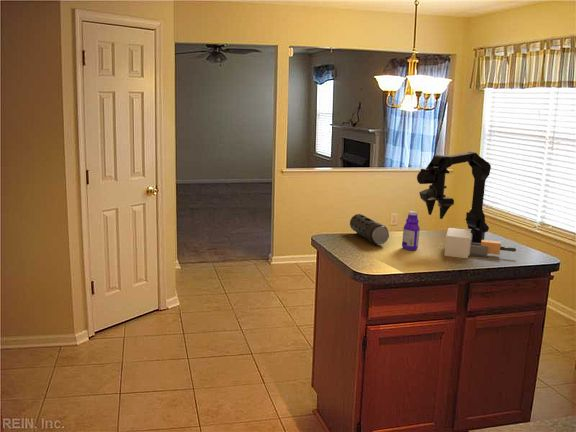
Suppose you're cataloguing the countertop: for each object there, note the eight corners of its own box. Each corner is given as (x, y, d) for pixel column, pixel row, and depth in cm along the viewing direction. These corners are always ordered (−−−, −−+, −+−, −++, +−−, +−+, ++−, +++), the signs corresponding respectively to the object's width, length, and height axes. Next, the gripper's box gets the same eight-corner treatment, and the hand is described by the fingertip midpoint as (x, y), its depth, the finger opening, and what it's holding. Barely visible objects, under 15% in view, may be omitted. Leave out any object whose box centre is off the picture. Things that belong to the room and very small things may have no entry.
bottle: (420, 249, 268) (423, 212, 265) (413, 251, 264) (416, 213, 261) (406, 246, 273) (409, 209, 269) (399, 248, 269) (402, 211, 265)
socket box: (444, 255, 259) (446, 235, 257) (446, 246, 276) (448, 227, 274) (487, 260, 254) (489, 240, 252) (486, 250, 271) (489, 231, 269)
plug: (480, 252, 261) (481, 241, 260) (480, 250, 265) (481, 239, 264) (515, 256, 257) (517, 245, 256) (515, 254, 260) (516, 243, 259)
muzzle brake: (366, 233, 297) (367, 213, 295) (389, 247, 271) (391, 225, 269) (348, 233, 295) (349, 213, 292) (370, 247, 268) (372, 225, 266)
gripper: (412, 180, 274) (409, 213, 277) (434, 186, 257) (431, 221, 260) (432, 180, 278) (429, 212, 281) (456, 186, 260) (453, 220, 264)
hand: (435, 216), depth 271 cm, fingers open, 9 cm apart
